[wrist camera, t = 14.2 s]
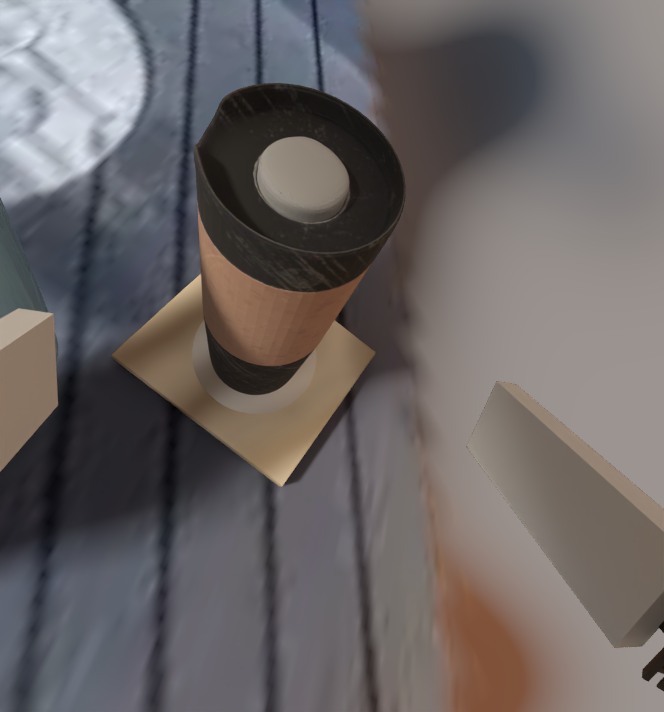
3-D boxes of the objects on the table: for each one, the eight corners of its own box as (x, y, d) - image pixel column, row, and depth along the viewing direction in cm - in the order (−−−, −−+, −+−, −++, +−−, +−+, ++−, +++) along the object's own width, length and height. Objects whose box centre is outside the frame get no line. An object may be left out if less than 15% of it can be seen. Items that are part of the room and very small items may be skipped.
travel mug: (317, 375, 32) (446, 224, 14) (231, 415, 29) (255, 290, 11) (276, 298, 34) (347, 69, 15) (190, 329, 31) (152, 91, 12)
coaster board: (115, 361, 30) (110, 353, 28) (234, 251, 36) (235, 241, 34) (279, 486, 30) (282, 486, 29) (369, 357, 36) (376, 351, 35)
